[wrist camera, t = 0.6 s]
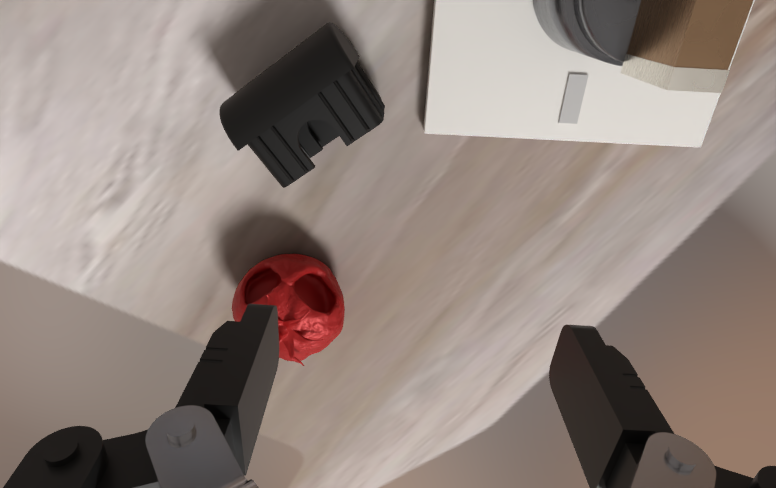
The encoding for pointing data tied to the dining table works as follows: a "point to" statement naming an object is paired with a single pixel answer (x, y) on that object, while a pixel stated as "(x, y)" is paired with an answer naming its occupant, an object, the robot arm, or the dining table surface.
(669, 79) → the lock lever handle
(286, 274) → the pomegranate
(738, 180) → the dining table surface
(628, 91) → the lock base
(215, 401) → the robot arm
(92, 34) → the dining table surface
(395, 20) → the dining table surface
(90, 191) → the dining table surface
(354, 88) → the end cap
